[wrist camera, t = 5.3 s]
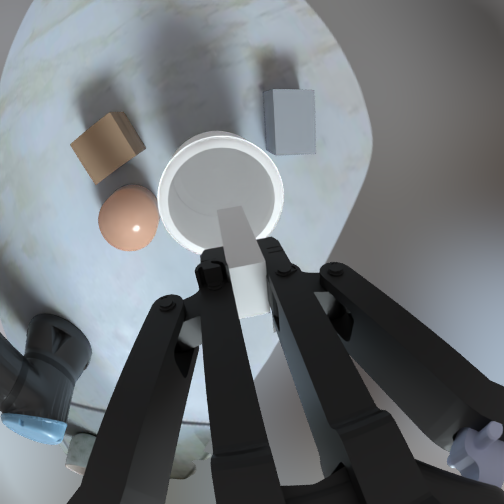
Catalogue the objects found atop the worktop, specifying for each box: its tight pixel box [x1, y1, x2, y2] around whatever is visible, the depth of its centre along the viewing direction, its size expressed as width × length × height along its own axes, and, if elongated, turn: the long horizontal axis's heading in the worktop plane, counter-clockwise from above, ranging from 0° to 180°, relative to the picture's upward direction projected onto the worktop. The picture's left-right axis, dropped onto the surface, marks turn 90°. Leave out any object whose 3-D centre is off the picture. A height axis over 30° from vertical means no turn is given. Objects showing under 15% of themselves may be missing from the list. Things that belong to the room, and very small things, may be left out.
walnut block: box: [70, 112, 146, 185], centre depth 28 cm, size 6×6×6 cm
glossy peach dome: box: [98, 185, 160, 251], centre depth 33 cm, size 8×8×4 cm
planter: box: [65, 433, 96, 475], centre depth 60 cm, size 17×17×15 cm
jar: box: [157, 131, 284, 255], centre depth 28 cm, size 11×10×15 cm
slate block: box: [263, 89, 316, 156], centre depth 31 cm, size 5×8×5 cm, turn 3°
